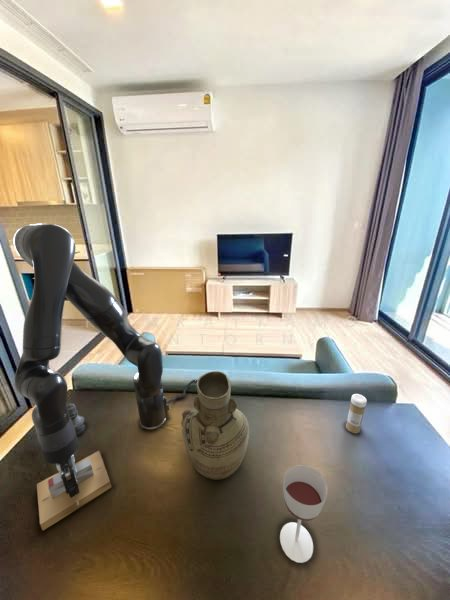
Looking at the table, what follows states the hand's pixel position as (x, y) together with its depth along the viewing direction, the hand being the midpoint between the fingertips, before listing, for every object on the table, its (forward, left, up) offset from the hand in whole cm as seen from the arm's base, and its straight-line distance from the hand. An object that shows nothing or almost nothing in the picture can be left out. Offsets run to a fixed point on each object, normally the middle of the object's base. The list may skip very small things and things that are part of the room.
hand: (72, 481), depth 68 cm
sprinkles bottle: (-80, +39, -3) cm, 89 cm away
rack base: (0, 0, -3) cm, 3 cm away
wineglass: (-39, +46, -3) cm, 60 cm away
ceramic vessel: (-36, +18, -3) cm, 41 cm away
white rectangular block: (0, 0, -1) cm, 1 cm away
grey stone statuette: (-4, -22, -3) cm, 23 cm away
